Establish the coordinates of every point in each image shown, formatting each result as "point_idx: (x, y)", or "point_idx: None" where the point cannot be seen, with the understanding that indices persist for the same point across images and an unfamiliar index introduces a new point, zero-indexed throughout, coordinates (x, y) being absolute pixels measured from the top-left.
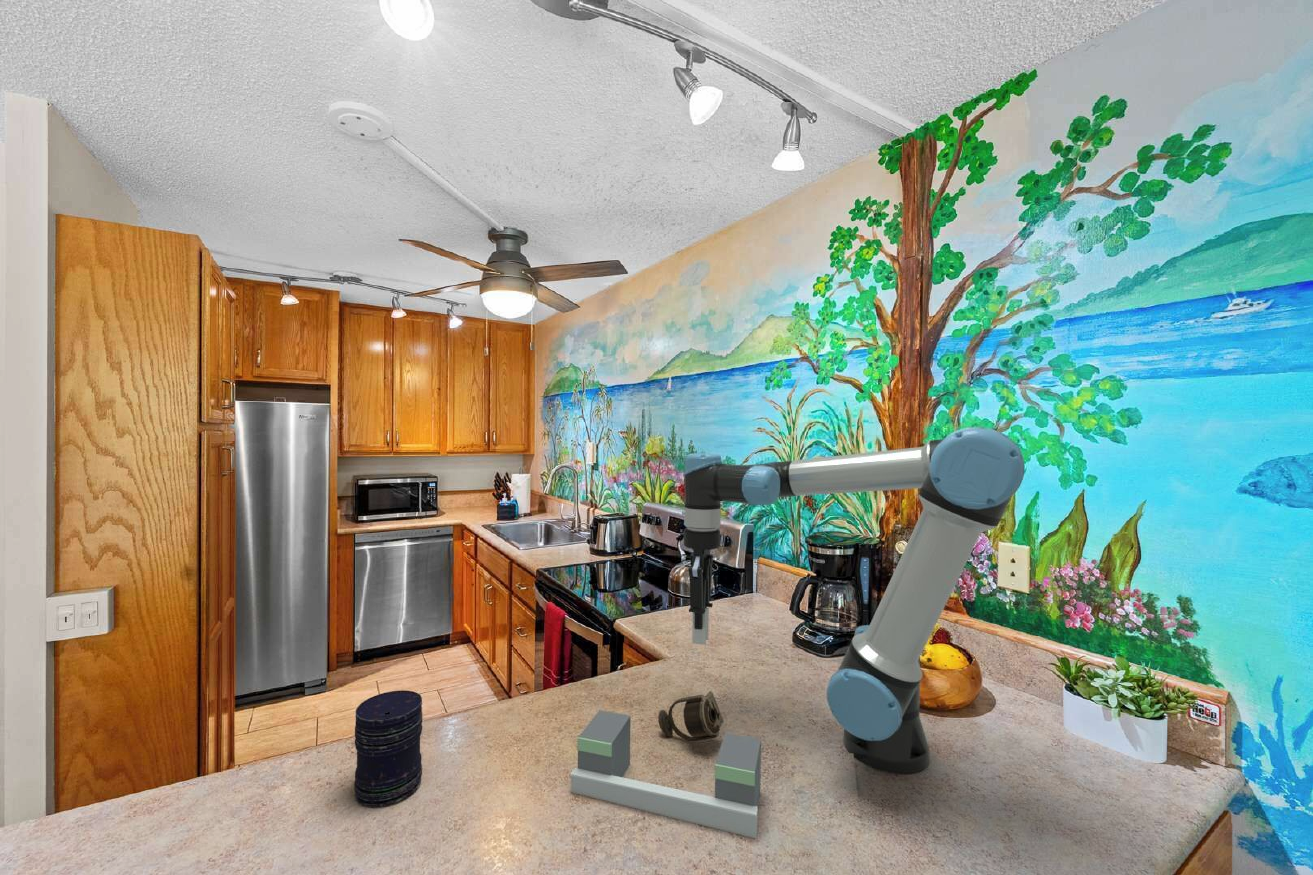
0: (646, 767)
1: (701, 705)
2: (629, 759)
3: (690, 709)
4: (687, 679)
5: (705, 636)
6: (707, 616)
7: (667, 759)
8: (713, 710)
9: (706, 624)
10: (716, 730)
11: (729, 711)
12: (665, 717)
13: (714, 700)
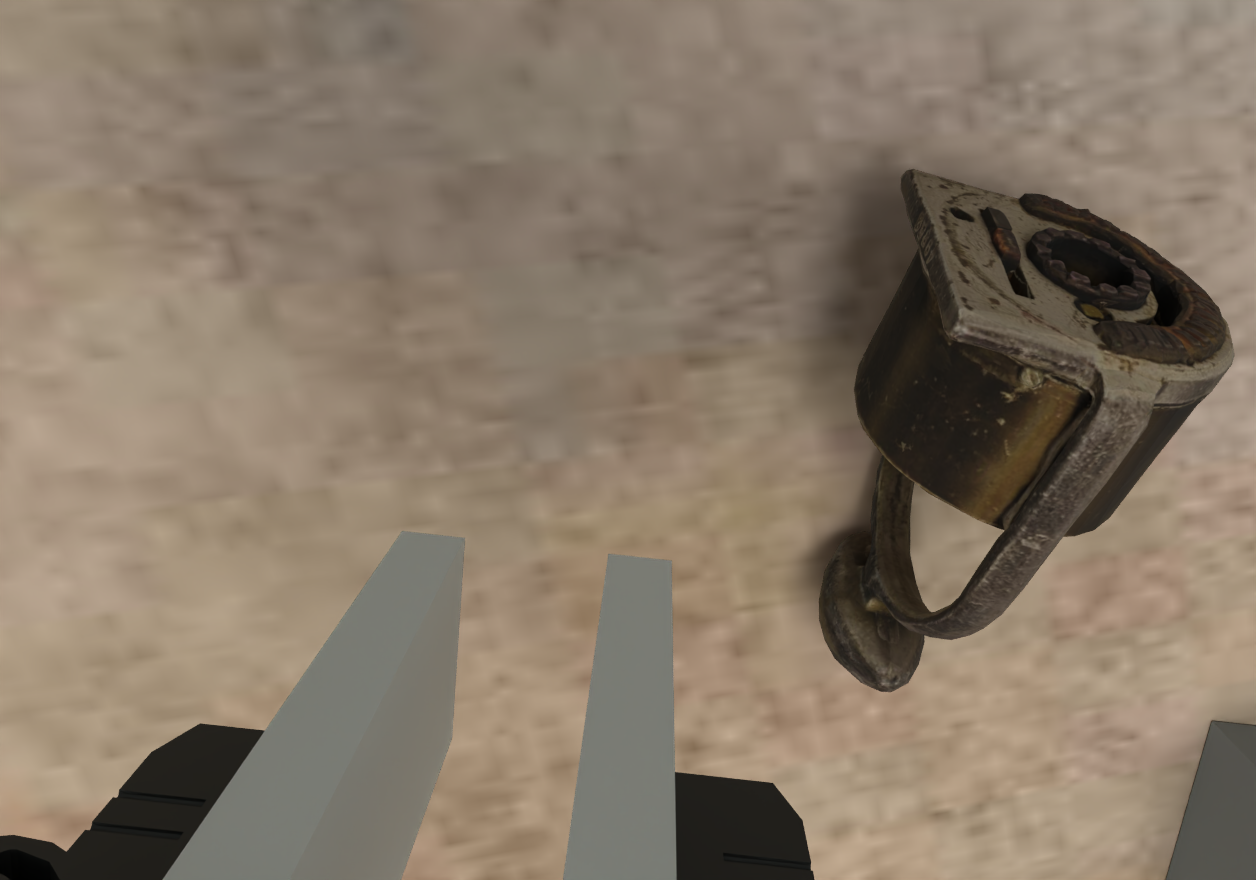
0: (1219, 627)
1: (1189, 390)
2: (1245, 746)
3: (1131, 479)
4: (8, 528)
5: (652, 618)
6: (331, 796)
7: (1125, 520)
8: (1062, 266)
9: (397, 701)
10: (1099, 218)
11: (420, 145)
12: (899, 631)
13: (969, 270)
